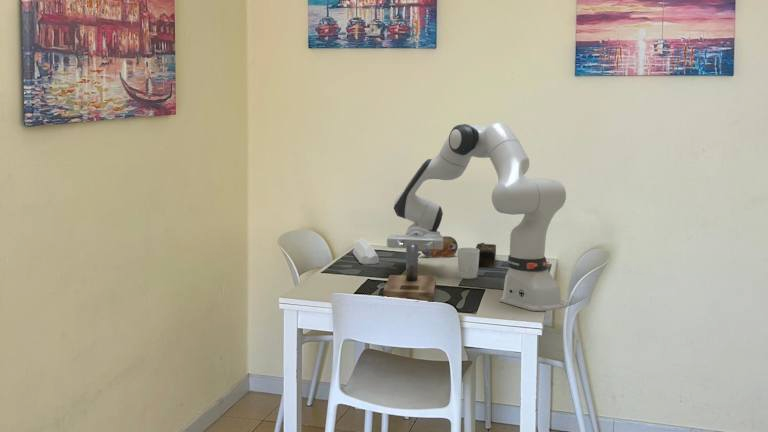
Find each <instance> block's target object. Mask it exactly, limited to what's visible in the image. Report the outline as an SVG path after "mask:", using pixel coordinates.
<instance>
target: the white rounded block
mask: <svg viewBox="0 0 768 432" xmlns="http://www.w3.org/2000/svg"><path fill="white" fill-rule="evenodd" d="M352 254H353V256H355V258H356V259H357V260H358V263H360V264H362V265H376V264H378V263H380V259H379V256H378V254H377V253H376V251H375V249H374V248H373V247H372V245H370V244H369V242H368V241H367V240H366V239H365V238H364V237H360V238H359V239H358V240H357V241H356V243H355V245H354V247H353V248H352Z"/></svg>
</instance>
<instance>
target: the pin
mask: <svg viewBox="0 0 768 432" xmlns="http://www.w3.org/2000/svg"><path fill="white" fill-rule="evenodd" d="M405 249H406V251H405V254H406V255H405V259H406V260H405V275H406V281H418V276H419V275H418V273H419V252H418V245H417V244H407V245H406V248H405Z"/></svg>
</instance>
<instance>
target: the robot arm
mask: <svg viewBox="0 0 768 432" xmlns="http://www.w3.org/2000/svg"><path fill="white" fill-rule="evenodd" d="M472 157H473V158H474V157H476V158H481V159H482V158H483V159H484V158H485V159H486V158H487V159H488V158H489V159H490V161H491V163H492V166H493V168H494V169H495V171H496V174H497V178H498V182H497V184H496V185H495V186H494V188H493V190H492V192H491V202H492V205H493V208H494V210H496V211H497V212H498V213H501V214H505V215H511V216H513V215H514V216H515V215H523V217H522V220H521V221H520V223H519V224H518V225H516V226H514V228H513V229H512V230H511V232H510V238H509V255H508V259H507V267H508V270H507V273H506V274H505V278H504V285H503V294H502V296H501V297H500V298H499V302H500V303H501V302H502V303H504V304H507V305H511V306H514V307H517V308H521V309H525V310H528V311H533V312H548V311H555V310H556V311H557V310H563V309H566V308H568V307H569V303H567V302H566V301H564V300H563V299H561V296H562V295H561V293H562V292H561V288H560V284H559V283H558V282H557V281H556V280H555V279H554V277H553V276H552V275H551V273H550V271H549V270H548V269H549V268H548V267H549V266H550V264H549V263H550V261H547V258H546V256H545V251H546V240H547V233H548V228H549V226H550V224H551V221H552V220H553V218H554V216H555V215H556V214H557V212H558V211H559V210H560V209H562V208H563V207H564V205H565V203H566V200H567V192H566V189H565V187H564V185H563V183H562V182H561V181H559V180H555V179H551V178H534V179H533V178H527V177H526V176H525V174H526V173H527V172H528V171H529V168H530V159H529V157H528V155H527V154H526V151H525V150H524V148H523V146H522V144H521V142H520V140H519V139H518V137H517V136H516V134H515V133H514V132H513V131H512V129H511V128H510V127H509V126H508V125H507V124H506V123H504V122H501V121H497V122H493V123H490V124H489V125H488V126H487V125H481V124H467V123H464V124H458V125H455V126H454V127H453V128H452V129H451V131H449V135H448V137H447V138H446V139H445V141H444V143H443V145H442V147H441V149H440V151H439V153H438V154H437V155H436V156H435V157H433V158H428V159H426V160H425V161H424V162H423V163H422V164H421V166H420V168H419V169H417V171H416V172H415V174H414V175H413V177H412V178H411V180H410V181H409V182H408V184H407V185H406V187H405V188H404V189H403V191H402V192H401V193H400V194H399V195H398V196H397V197H396V199H395V200H394V204H393V209H394V212H395V214H396V217H399V218H403V219H404V220H405V219H406V220H408V221H411V222H413V223H412V224H411V225H409V226H408V228H407V230H406V232H405V234H392V235H391V234H390V235H388V236H387V238H386V247H387V248H390V249H394V248H395V249H406V245H407V244H417V245H418V253H419V252H422V251H424V250H430V249H439V250H441V249H443V235H441V232H440V231H438V229H439V228H440V224H441V222H442V220H443V219H442V218H443V214H444V212H443V209H442V207H441V205H439V204H438V203H436V202H432V201H431V200H427V199H426V198H424V197H421V196H419V195H417V194H416V193H417V192H418V190H419V189H420V187H421V186H422V185H423V183H424V182H425V181H427V180H440V181H442V180H443V181H452V180H457V179H458V178H460V177H461V176H462V175H463V174H464V173H465V171H466V169H467V167H468V166H469V163H470V160H471V158H472Z"/></svg>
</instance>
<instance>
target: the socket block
mask: <svg viewBox="0 0 768 432" xmlns="http://www.w3.org/2000/svg"><path fill="white" fill-rule="evenodd" d="M436 286H437V276H436V275H434V276H433V275H418V281H406V274H403V275H402V274H389V276H388V279H387V281H386V283H385V285H384V288H383V291H382V292H383V293H382V297H383V296H387V297H399V298H407V299H417V300H427V301H433V302H434V299H435V293H436Z"/></svg>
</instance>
